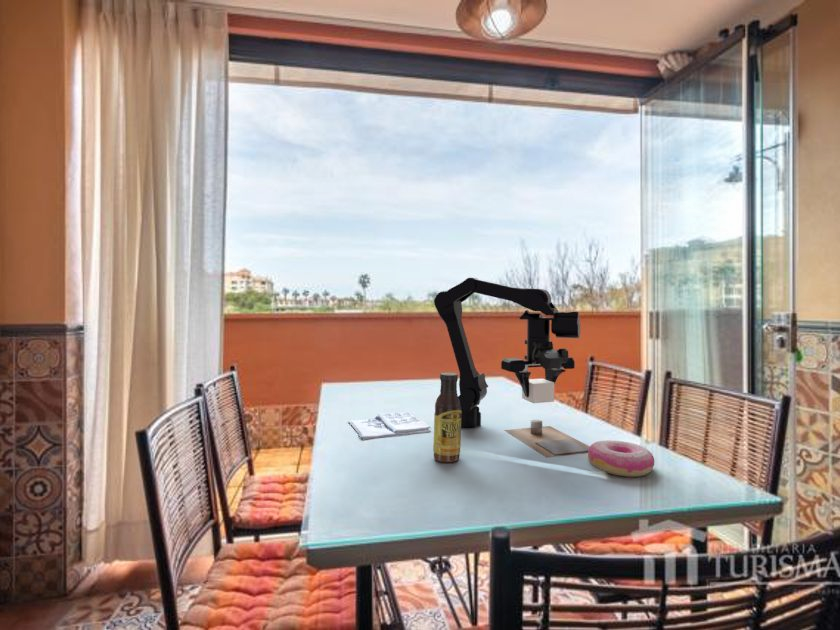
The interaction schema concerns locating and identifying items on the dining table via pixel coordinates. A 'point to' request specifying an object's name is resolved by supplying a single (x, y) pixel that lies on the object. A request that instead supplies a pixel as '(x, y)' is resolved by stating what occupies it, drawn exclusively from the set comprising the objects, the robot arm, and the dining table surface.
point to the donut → (621, 458)
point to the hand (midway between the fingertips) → (537, 396)
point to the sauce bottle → (447, 420)
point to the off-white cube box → (540, 391)
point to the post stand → (548, 440)
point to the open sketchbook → (389, 425)
